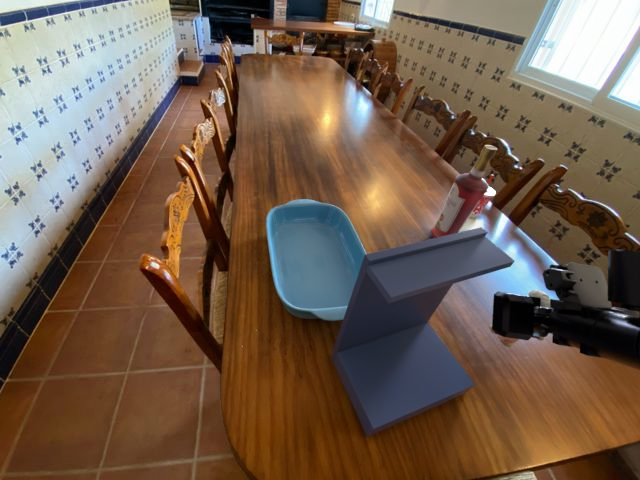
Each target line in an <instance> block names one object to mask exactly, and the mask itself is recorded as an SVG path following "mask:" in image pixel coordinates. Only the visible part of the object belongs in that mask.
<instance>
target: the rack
mask: <svg viewBox="0 0 640 480" xmlns="http://www.w3.org/2000/svg"><path fill="white" fill-rule="evenodd" d="M487 234H488V231H487V230H486V229H484V228H483V227H482V226H480V227H477V228H472V229H467V230H464V231H459V233H455V234H450V235H446V236H442V237H438V238H434V237H433V238H429V239H426V240H421V241H420V240H419V241H417V242H411V243H408V244H404V245H400V246H395V247H391V248H386V249H382V250H377V251H374V252H369V253H367V254H365V256H364V259H363V262H362V265H361V268H360V271H359V274H358V277H357V280H356V283H355V286H354V289H353V292H352V295H351V298H350V301H349V304H348V307H347V310H346V313H345V316H344V319H343V320H342V322H341V325H340V328H339V331H338V333H337V336H336V340H335V343H334V345H333V348H332V352H331V355H330V358H331V360H332V362H333V364H334V367H335V369H336V371H337V373H338V375H339V378H340V380H341V383H342V385H343V387H344V389H345V390H346V393H347V396H348V398H349V400H350V402H351V405H352V406H353V409H354V411H355V414H356V416H357V418H358V420H359V422H360V424H361V426H362V429H363V431H364V433H365V435H366V437H367V438H369V437H371V436H373V435H376V434H377V433H380V432H382V431H384V430H387V429H389V428H391V427H393V426H395V425H398V424H400V423H403V422H405V421H407V420H409V419H411V418H414V417H416V416H418V415H421V414H423V413H425V412H427V411H430V410H432V409H434V408H436V407H438V406H441V405H443V404H445V403H447V402H449V401H451V400H454V399H456V398H458V397H461V396H463V395H465V394H466V393H468V392H469V390H472V388H473V387H474V386H476V383H475V382H474V381H473V379H472V378H471V376H470V375H469V374H468V373H467V371H466V370H465V369H464V368H463V365H461V364H460V362H459V361H458V360H457V358H456V357H455V356H454V354H453V353H452V352H451V351H450V349H449V348H448V346H447V345H446V344H445V343H444V341H443V340H442V339H441V337H440V336H439V335H438V334H437V332H436V330H434V328H433V327H432V325H431V324H430V323H429V321H430V320H431V317H433V315H434V313H435V312H436V310H438V307H439V306H440V304H441V303H442V302H443V300H444V299H445V297H446V295H448V293H449V291H450V290H451V288H452V287H453V285H455V284H458V283H460V282H461V283H462V282H464V281H467V280H470V279H474V278H477V277H480V276H484V275H487V274H491V273H494V272H498V271H500V270H505V269H507V268H511V267H512V265H513V264H514V263H515V259H513V258H512V257H511V256H510V255H509V254H508V253H506V252H504V251H503V250H502V249H501V248H500V247H499V246H497V245H496V244H495V243H494V242H493V241H491V240H490V239H489V238H488V237H486V236H487Z"/></svg>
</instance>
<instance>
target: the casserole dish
mask: <svg viewBox="0 0 640 480" xmlns="http://www.w3.org/2000/svg"><path fill="white" fill-rule="evenodd" d="M265 231H266V238H267V246H268V247H267V248H268V253H269V260H270V268H271V269H270V270H271V275H272V280H273V285H274V289H275V291H276V294H277V296H278V297H279V299H280V301H281V303H282V306H284V308H285V309H286V311H287V312H289V314H290V315H292V316H294V317H296V318H299V319H303V320H304V319H306V320H316V319H321V320H322V321H326V322H337V321H343V319H344V316H345V313H346V310H347V307H348V304H349V301H350V298H351V295H352V292H353V289H354V286H355V283H356V280H357V277H358V274H359V271H360V268H361V265H362V262H363V259H364V256H365V254H368V253H367V251H366V249H365V247H364V245H363V243H362V241H361V239H360V237H359V235H358V232H357V231H356V229H355V226H354V225H353V223H352V221H351V220H350V217H349V216H348V214H347V213H346V212H345V211H344V210H343V209H341V208H340V207H338V206H336V205H333V204H331V203H326V202H325V203H324V202H320V201H317V200H314V199H303V198H301V199H292V200H290V201H288V202H287V203H284V204H281V205H277V206H274V207H272V208H271V209H270V210H269V211H268V212H267V214H266V218H265Z"/></svg>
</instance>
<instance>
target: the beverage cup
mask: <svg viewBox="0 0 640 480" xmlns="http://www.w3.org/2000/svg"><path fill="white" fill-rule="evenodd" d="M493 178H494V174H491V175H490V177H489V179H488V181H487V184H488V186H489V184H490V183H491V181H492V180H493ZM496 194H497V193H496V190H495V189H494V188H492V187H491V186H489V188H488V189H487V191H486V192H485V194H484V195H483V197H482V198H481V200H480V202H479V203H478V205H477V206H476V207H475V209H474V210H473V212H472V213H471V215H470V216H469V218H478V217H479V216H480V215H481V213H483V211H484V210H485V208H486V207H487V205H488V204H489V202H490V200H492V198H494V197H495V195H496Z"/></svg>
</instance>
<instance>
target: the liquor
mask: <svg viewBox="0 0 640 480" xmlns="http://www.w3.org/2000/svg"><path fill="white" fill-rule="evenodd" d="M497 151H498V148H497V146H494V145H492V144H484V146H483V147H482V149H481V151H480V154H479V157H478V159H477V160H476V162H475V164H474V165H473V166H472V168H471V170H470V171H469V172H464V173H461V174H460V173H459V174H458V175H456V177H455V179H454V181H453V183H452V185H451V188H450V190H449V192H448V195H447V197H446V199H445V201H444V202H445V203H444V205H443V207H442V209H441V212H440V213H439V216H438V218H437V220H436V222H435V224H434V226H433V227H432V228H430V234H431V236H432V237H433V238H438V237H442V236H446V235H450V234H455V233H459V232H461V230H462V228H463V227H464V225H465V224H466V222H467V221H468V219H469V218H470V215H471V213H472V212H473V210H474V209H475V207H476V206H477V205H478V203H479V202H480V200H481V198H482V197H483V195H484V194H485V192H486V191H487V189H488V188H489V187H490V186H489V185H488V184H487V183H488V181H486V179H485V178H483V177H484V175H485V173H486V170H487V168H488V166H489V163H490V161H492V159H493V158H494V157H495V155H496V153H497Z"/></svg>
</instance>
